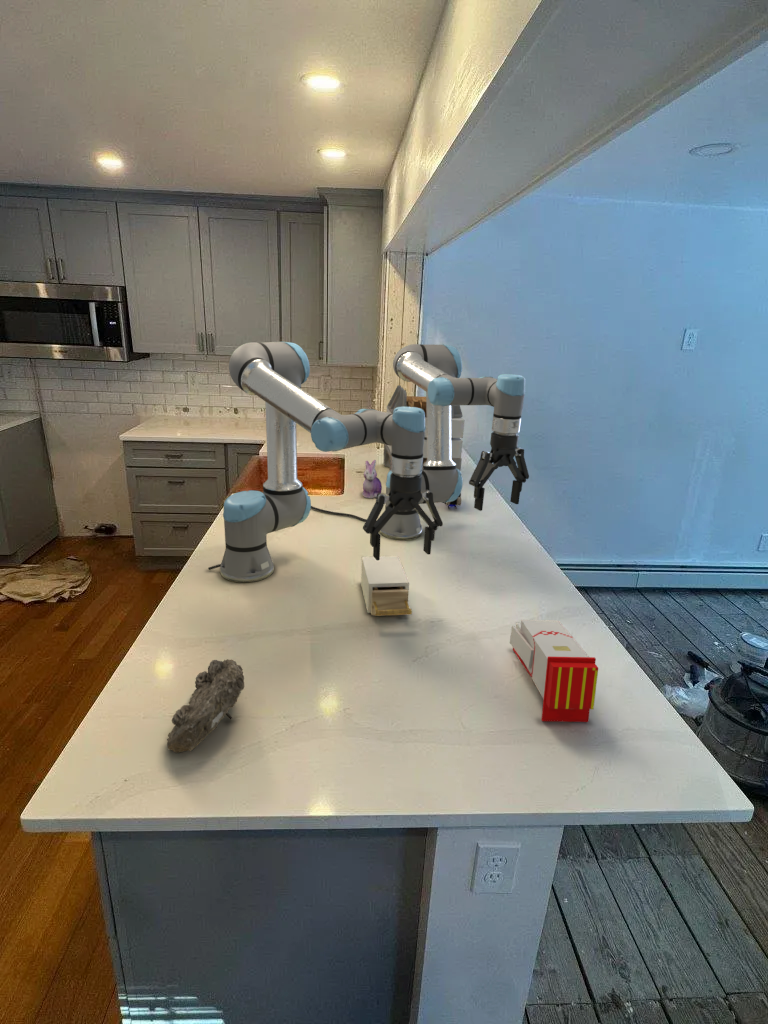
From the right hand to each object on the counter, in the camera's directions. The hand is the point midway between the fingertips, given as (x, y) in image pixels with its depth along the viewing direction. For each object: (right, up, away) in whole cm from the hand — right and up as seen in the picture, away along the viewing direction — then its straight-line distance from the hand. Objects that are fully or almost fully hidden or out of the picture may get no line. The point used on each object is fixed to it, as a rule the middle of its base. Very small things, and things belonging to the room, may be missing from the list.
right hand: (496, 506), depth 162 cm
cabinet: (-33, -25, -7) cm, 42 cm away
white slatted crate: (-15, +17, +113) cm, 115 cm away
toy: (+3, -38, -39) cm, 55 cm away
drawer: (-32, -26, -13) cm, 43 cm away
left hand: (-28, -13, -21) cm, 37 cm away
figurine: (-37, +5, +77) cm, 86 cm away
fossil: (-65, -41, -54) cm, 94 cm away
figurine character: (-5, +1, +69) cm, 69 cm away
